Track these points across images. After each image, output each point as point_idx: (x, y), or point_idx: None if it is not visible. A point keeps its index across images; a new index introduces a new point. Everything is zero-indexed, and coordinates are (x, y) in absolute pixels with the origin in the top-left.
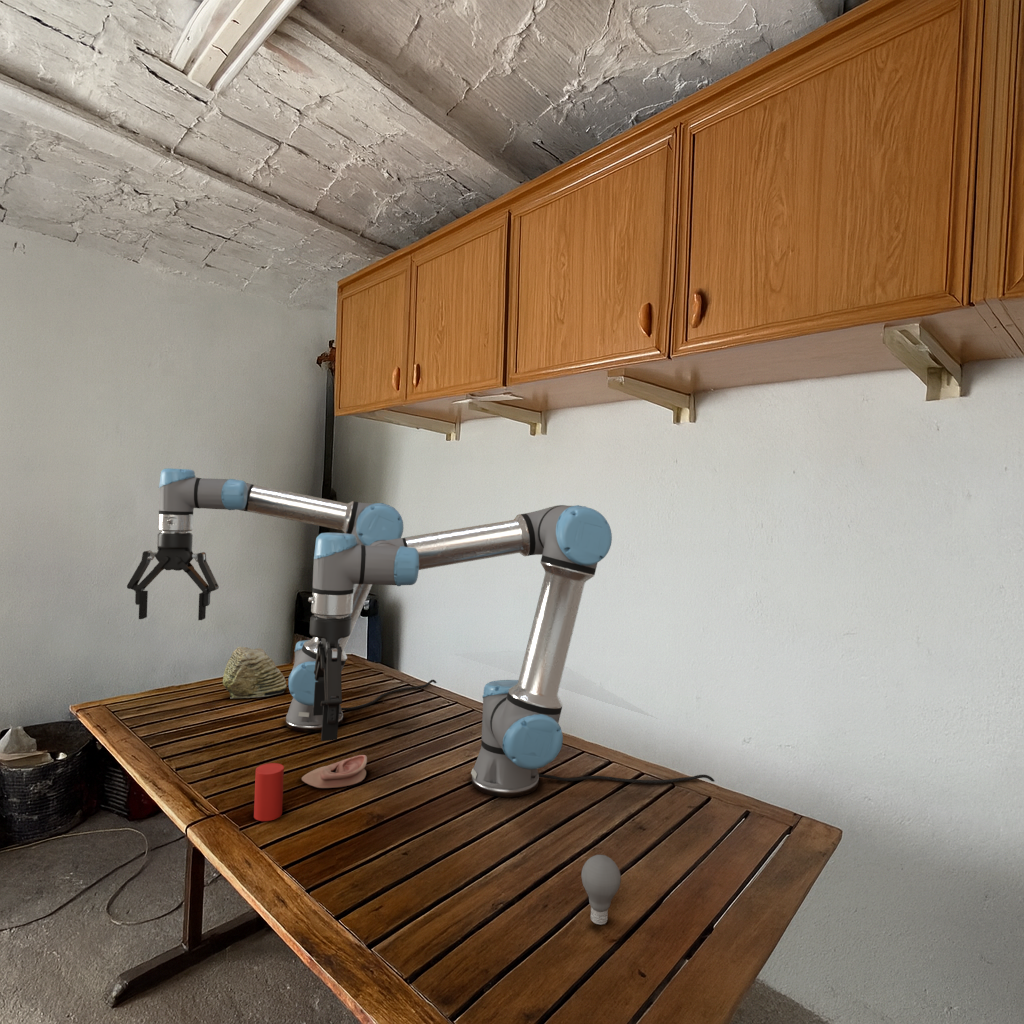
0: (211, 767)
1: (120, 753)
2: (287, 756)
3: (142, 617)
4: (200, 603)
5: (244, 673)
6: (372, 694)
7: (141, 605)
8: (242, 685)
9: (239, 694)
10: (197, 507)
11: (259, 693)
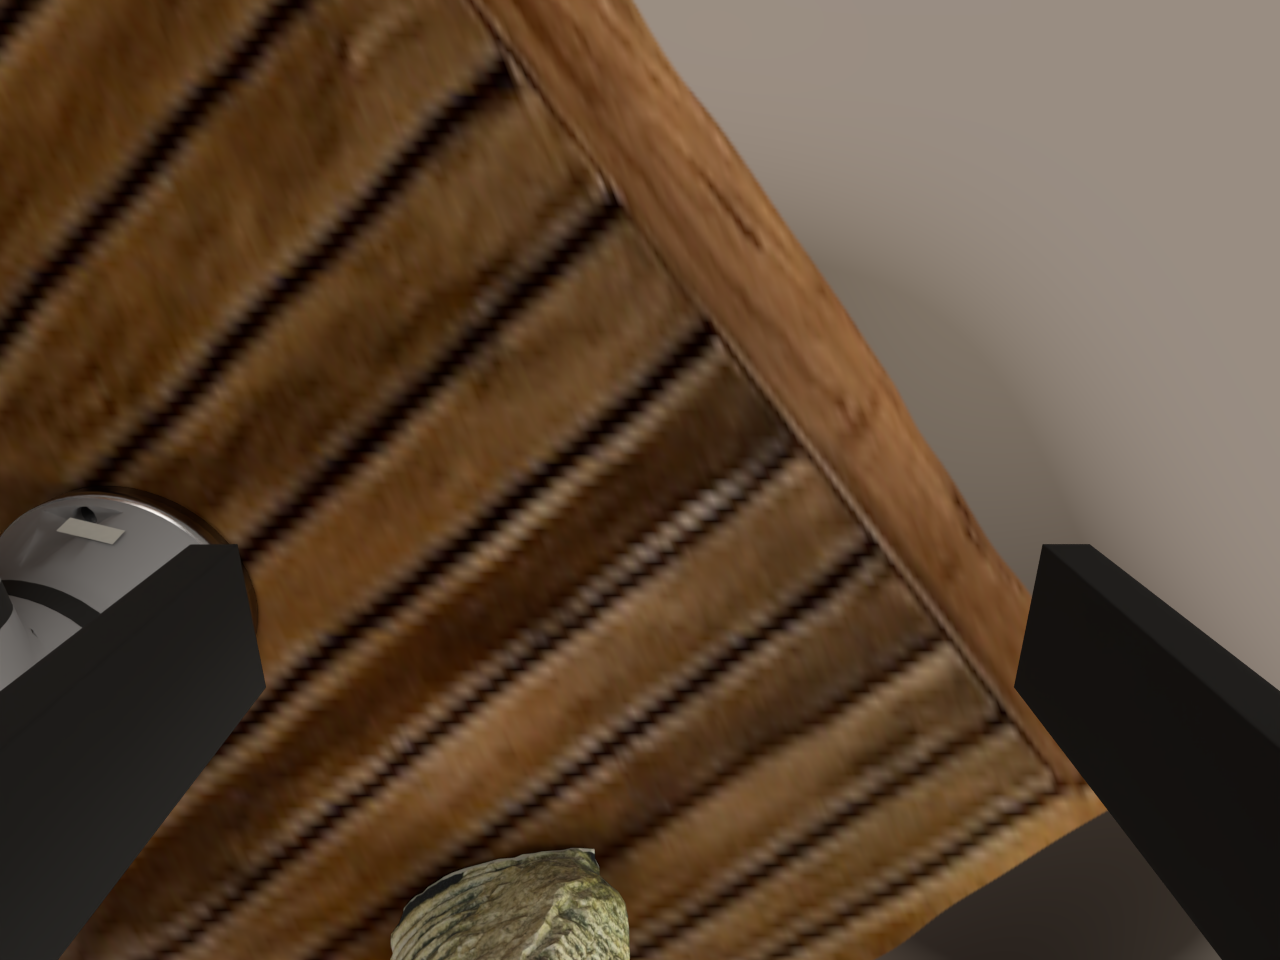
0: (365, 90)
1: (815, 265)
2: (84, 213)
3: (1051, 568)
4: (15, 702)
5: (515, 934)
6: None
7: (1197, 664)
8: (532, 885)
9: (552, 858)
10: None
11: (478, 875)
